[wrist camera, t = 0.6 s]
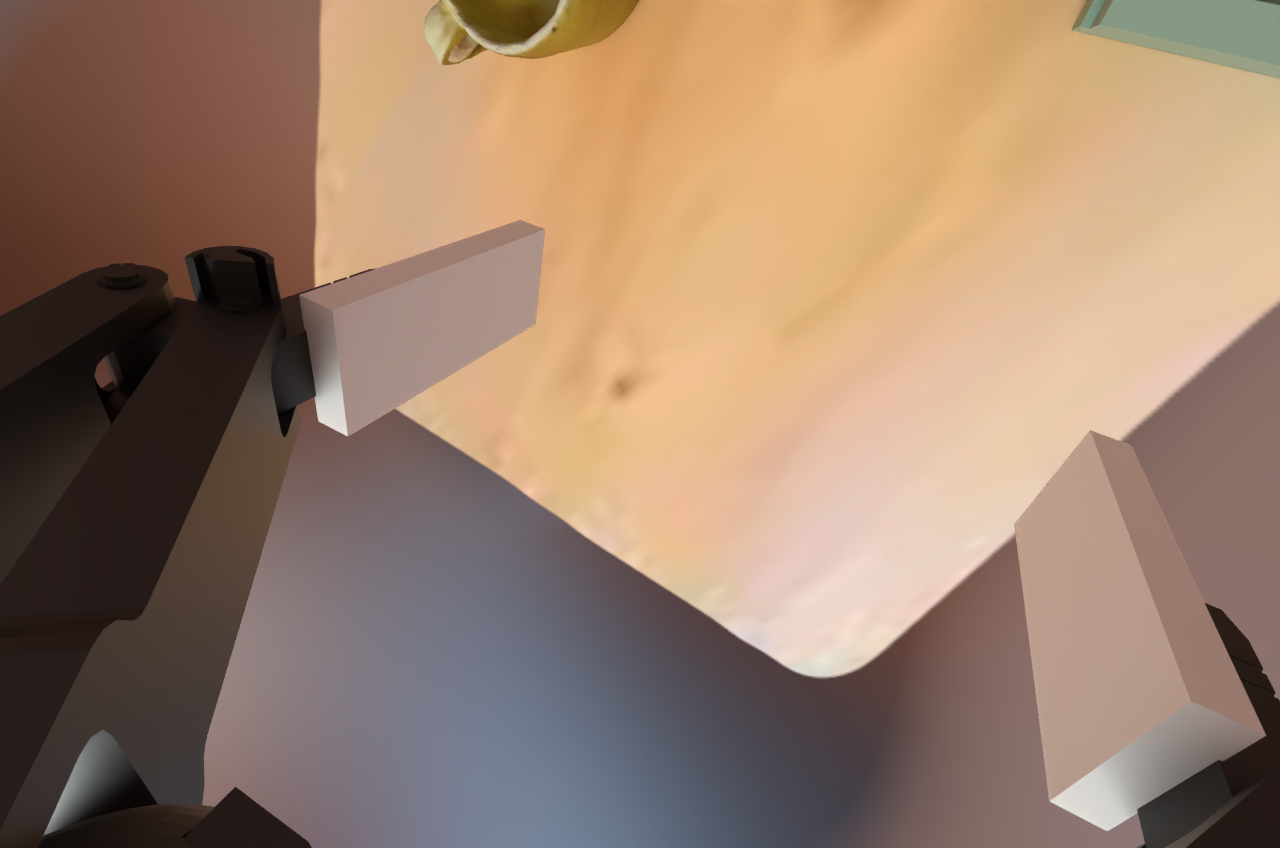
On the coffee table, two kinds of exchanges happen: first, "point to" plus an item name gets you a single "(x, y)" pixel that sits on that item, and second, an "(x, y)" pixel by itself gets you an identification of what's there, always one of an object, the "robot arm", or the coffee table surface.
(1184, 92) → the coffee table surface
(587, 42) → the mug
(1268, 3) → the teal slotted holder
